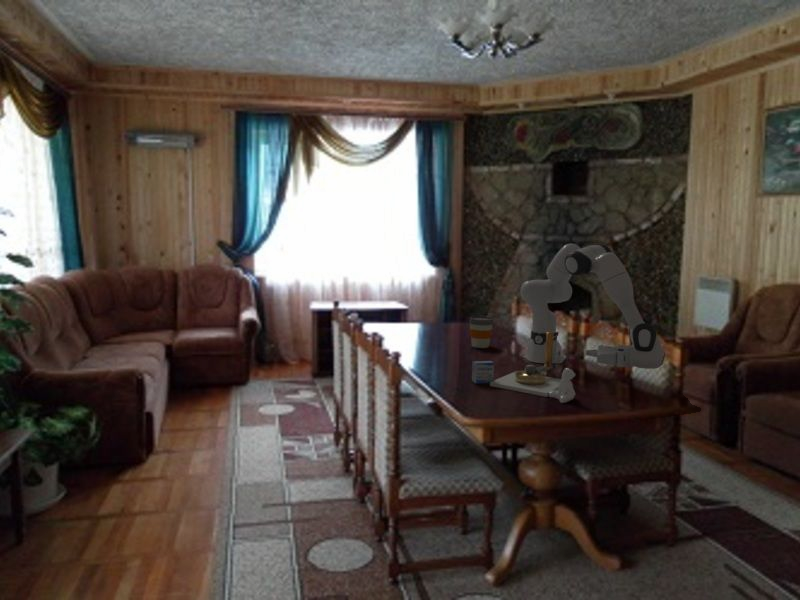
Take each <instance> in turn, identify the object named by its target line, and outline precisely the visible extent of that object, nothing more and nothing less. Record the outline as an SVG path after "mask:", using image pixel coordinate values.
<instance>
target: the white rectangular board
mask: <svg viewBox="0 0 800 600" xmlns="http://www.w3.org/2000/svg"><path fill="white" fill-rule="evenodd" d="M525 368H526V373H527V374H536V368H537V365H535V364H526V365H525ZM515 376H516V374H515V371H513V372H511V373H509V374H506V375H504V376H501V377H499V378H496V379H493V381H492V382H490V383H489V386H490V387H492V388H493V387H494V388H500V389H503V390H509V391H514V392H519V393H524V394H529V395H535V396H539V397H544V398H547V397H549V392H551V391H558V390H559V383H560V382H561V379H562V378H556V377H555V378H554V377H550V376H546V382H545V384H542V385H526V384H521V383H518V382H516V381H515Z"/></svg>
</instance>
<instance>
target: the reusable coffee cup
mask: <svg viewBox="0 0 800 600" xmlns="http://www.w3.org/2000/svg"><path fill="white" fill-rule="evenodd" d="M493 325H494V318H493V317H489V316H470V317H469V336H470V339H471V340H470V341H471V347H473V348H477V349H487V348H489V347H490V341H491V339H492V336H493V335H492V334H493Z"/></svg>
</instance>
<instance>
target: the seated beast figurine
mask: <svg viewBox="0 0 800 600" xmlns="http://www.w3.org/2000/svg"><path fill="white" fill-rule="evenodd" d="M562 371H563V372H561V378H560V379H561V382H560V383H559V390H558V391H551V392H549V396H548V397H549V398H551V399H552V398H553V399H555V400H556V399H557V400H559V402H560V404H561V403H562V404H565V403H567V402H570V401H573V400H574V398H575V396H576V395H577V394H576V392H575V388H574V387H573V386H574V384H573V383H572V381H571V380H572V379H573V378H575V377H576V372H574V371H573V369H571V368H569V367H565V368H564V370H562Z"/></svg>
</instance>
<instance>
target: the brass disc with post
mask: <svg viewBox="0 0 800 600" xmlns="http://www.w3.org/2000/svg"><path fill="white" fill-rule="evenodd" d="M553 339H554V333H553V332H546V349H545V363H544V365H541V366H538V367H537V366H536V374H527V373H526V367H525V368H524V370H515V371H514V372H515V374H516V376H515V381H516V382H518V383H521V384H526V385H542V384H545V382H546V377H547V374H548V373H547V371H549V370H552V369H553V366H554V365H553V363H552V355H553Z"/></svg>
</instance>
